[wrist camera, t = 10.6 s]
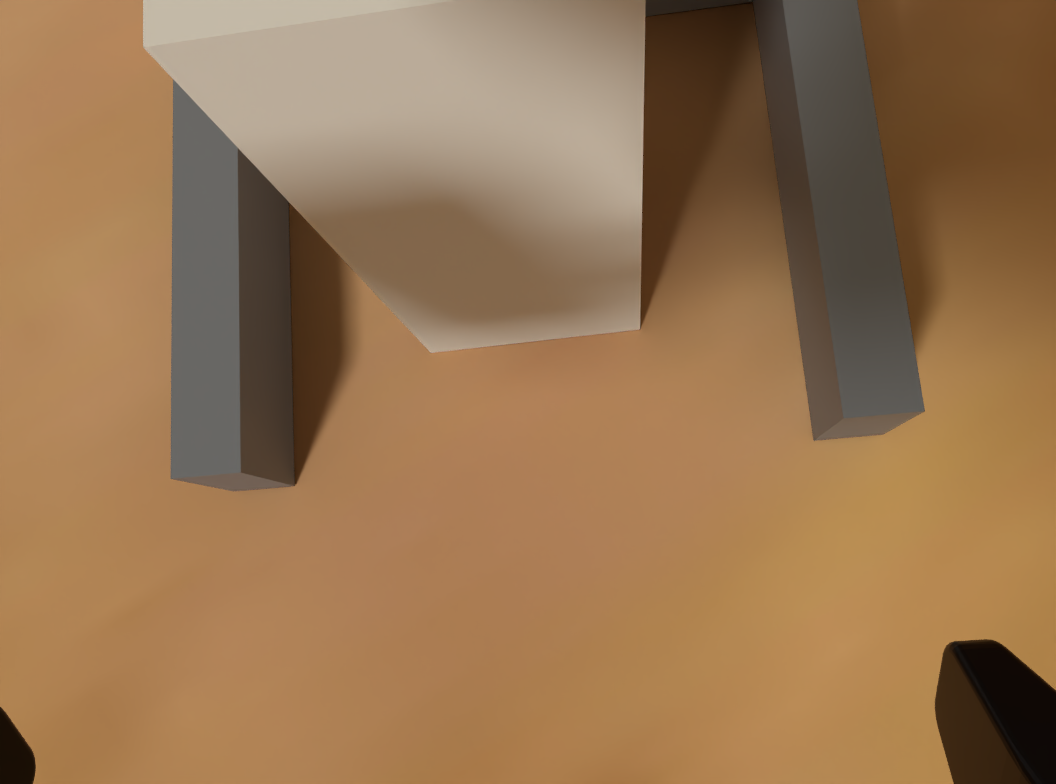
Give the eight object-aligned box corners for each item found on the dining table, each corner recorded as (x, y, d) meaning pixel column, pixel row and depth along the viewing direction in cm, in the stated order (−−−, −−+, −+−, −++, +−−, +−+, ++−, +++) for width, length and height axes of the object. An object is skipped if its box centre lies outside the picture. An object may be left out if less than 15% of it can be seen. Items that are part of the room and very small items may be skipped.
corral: (883, 434, 20) (924, 411, 17) (233, 491, 22) (170, 479, 19) (806, -61, 23) (831, -154, 20) (230, 21, 24) (174, -55, 21)
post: (640, 329, 21) (646, -28, 9) (430, 352, 22) (143, 47, 9) (618, 133, 22) (593, -446, 10) (418, 159, 23) (144, -360, 10)
